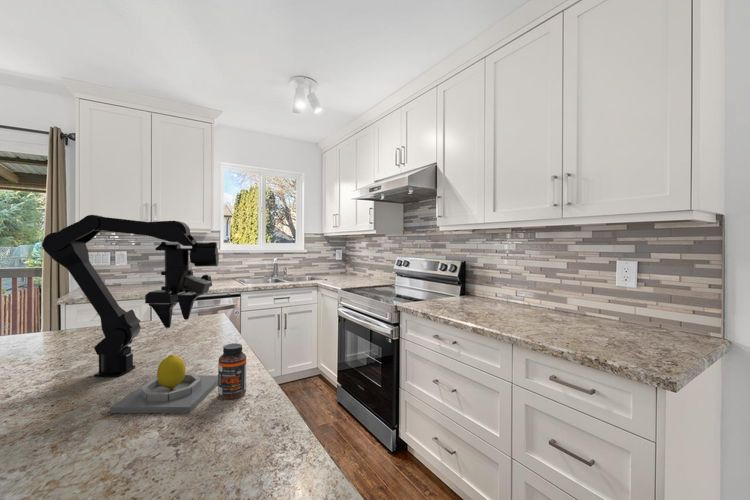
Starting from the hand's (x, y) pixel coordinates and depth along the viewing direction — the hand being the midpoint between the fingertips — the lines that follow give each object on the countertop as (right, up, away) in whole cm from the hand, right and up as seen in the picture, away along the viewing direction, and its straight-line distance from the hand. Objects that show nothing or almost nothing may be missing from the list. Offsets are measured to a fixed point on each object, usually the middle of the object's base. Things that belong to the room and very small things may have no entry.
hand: (177, 323), depth 93 cm
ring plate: (+8, -13, -16) cm, 22 cm away
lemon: (+8, -12, -16) cm, 22 cm away
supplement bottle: (+22, -13, -16) cm, 30 cm away
